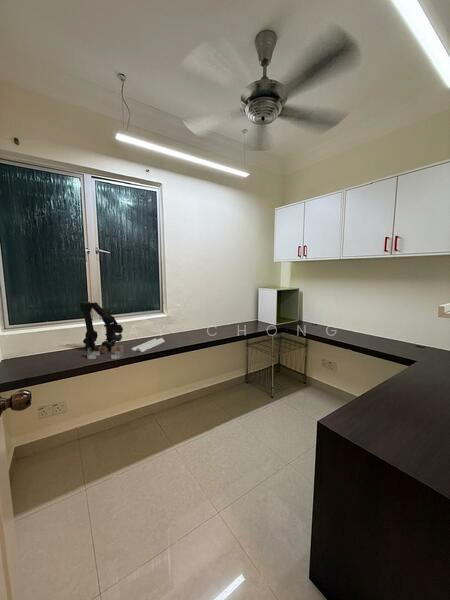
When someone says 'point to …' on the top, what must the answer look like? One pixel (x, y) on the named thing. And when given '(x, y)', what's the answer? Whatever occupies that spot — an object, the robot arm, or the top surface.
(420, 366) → the top surface
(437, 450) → the top surface
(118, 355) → the cup brackets
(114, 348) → the rail
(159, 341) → the crown molding
